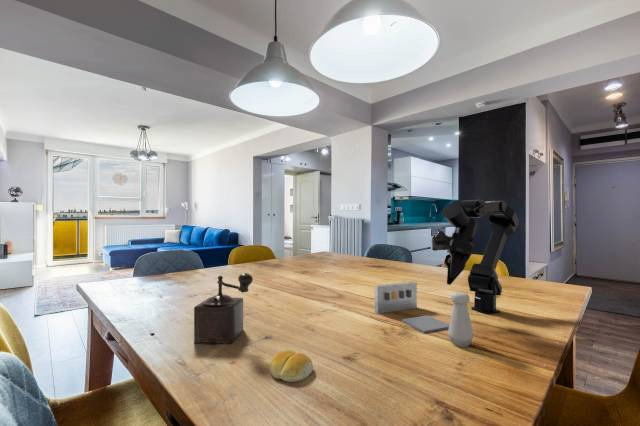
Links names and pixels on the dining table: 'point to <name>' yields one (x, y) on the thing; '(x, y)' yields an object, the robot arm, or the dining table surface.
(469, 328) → the salt shaker
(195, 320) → the manual coffee grinder
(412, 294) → the breaker panel
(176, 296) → the dining table surface
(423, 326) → the slate pad
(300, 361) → the bread roll
